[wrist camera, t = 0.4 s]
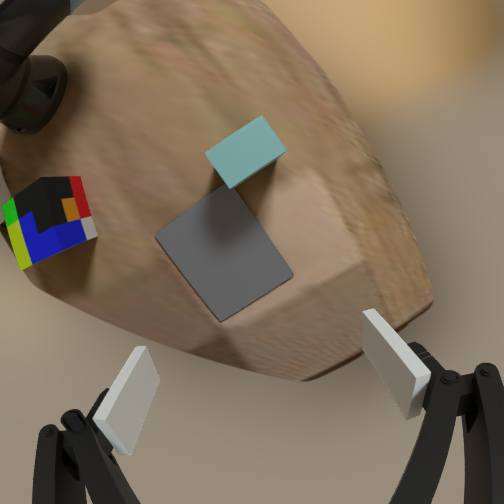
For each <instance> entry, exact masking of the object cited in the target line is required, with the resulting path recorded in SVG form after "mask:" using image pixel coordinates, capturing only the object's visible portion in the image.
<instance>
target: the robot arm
mask: <svg viewBox="0 0 504 504" xmlns="http://www.w3.org/2000/svg"><path fill="white" fill-rule="evenodd" d="M83 1H84V0H0V123H2V124H3V125H4V126H6V127H7V128H8V129H10V130H11V131H12V132H14V133H17V134H24V135H29V134H32V133H35V132H37V131H38V130H40V129H41V128H42V127H43V126H44V125H45V124H46V123H47V122H48V121H49V120H50V119H51V117H52V116H53V114H54V113H55V111H56V110H57V108H58V106H59V104H60V102H61V100H62V97H63V94H64V91H65V87H66V81H67V73H66V68H65V66H64V64H63V63H62V62H61V61H60V60H58V59H57V58H55V57H53V56H49V55H30V54H31V53H32V52H33V51H34V49H35V48H36V47H37V46H38V45H39V44H40V43H41V42H42V41H43V40H44V38H45V37H46V36H47V35H48V34H49V33H50V32H51V31H52V30H53V29H54V28H55V27H56V26H57V25H58V24H59V23H60V22H61V21H62V20H64V19H65V18H66V17H67V16H69V15H71V14H72V13H73V11H74V10H75V9H76V8H77V7H78V6H79V5H80V4H81V3H82V2H83ZM362 350H363V351H364V353H365V354H366V356H367V357H368V359H369V360H370V362H371V364H372V365H373V367H374V369H375V370H376V372H377V373H378V375H379V376H380V378H381V380H382V381H383V382H384V385H385V386H386V388H387V389H388V391H389V393H390V394H391V396H392V398H393V399H394V401H395V402H396V404H397V405H398V407H399V409H400V411H401V412H402V414H403V416H404V417H405V419H406V420H408V419H411V418H413V417H416V416H418V415H420V412H421V409H422V407H423V408H424V409H425V411H426V414H425V417H424V420H423V423H422V426H421V429H420V432H419V435H418V438H417V441H416V444H415V446H414V449H413V451H412V454H411V457H410V459H409V461H408V464H407V466H406V469H405V471H404V473H403V476H402V478H401V480H400V482H399V484H398V486H397V488H396V491H395V492H394V494H393V496H392V498H391V500H390V502H389V504H431V502H432V498H433V497H434V494H435V491H436V489H437V486H438V483H439V480H440V477H441V474H442V471H443V468H444V465H445V461H446V458H447V455H448V450H449V447H450V443H451V439H452V435H453V430H454V426H455V421H456V416H462V425H463V437H464V453H465V454H464V455H465V490H464V491H465V492H464V504H504V386H503V383H502V380H501V377H500V374H499V371H498V369H497V367H496V366H495V365H493V364H490V363H481V364H479V365H478V366H477V367H476V369H475V371H474V373H472V374H467V375H461V376H460V374H459V373H457V372H455V371H452V370H445V369H444V368H443V367H442V366H441V365H440V364H439V363H438V362H437V360H436V359H435V358H434V357H433V356H431V354H430V353H429V352H427V350H426V349H425V348H424V347H423V346H422V345H420V344H418V343H416V342H412V343H409V344H406V343H405V342H404V341H403V340H402V339H401V338H400V336H399V335H398V334H397V333H396V332H395V331H394V330H393V329H392V328H391V327H390V325H389V324H388V323H387V322H386V321H385V320H384V319H383V318H382V317H381V316H380V315H379V314H378V312H377V311H376V310H375V309H370V310H366V311H362ZM159 383H160V378H159V375H158V373H157V371H156V368H155V366H154V364H153V361H152V359H151V356H150V354H149V351H148V349H147V346H138V347H135V349H134V350H133V352H132V354H131V355H130V357H129V358H128V360H127V362H126V363H125V365H124V366H123V368H122V370H121V371H120V373H119V375H118V376H117V378H116V379H115V381H114V383H113V384H112V386H111V388H110V389H109V388H106V389H105V390H104V391H103V392H102V393H101V394H100V395H99V397H98V399H97V401H96V402H95V403H94V406H93V407H92V408H91V410H90V412H89V413H88V415H87V417H86V418H85V417H84V415H83V414H82V413H81V411H80V410H78V409H72V410H69V411H67V412H65V413H64V414H63V415H62V417H61V423H62V424H63V426H64V427H65V428H66V431H59V429H58V428H57V427H56V426H55V425H53V424H49V425H46V426H44V427H43V428H42V429H41V430H40V432H39V438H38V444H37V450H36V458H35V466H34V467H35V468H34V477H33V493H32V504H87V500H86V491H85V486H86V488H87V490H88V493H89V496H90V498H91V501H92V503H93V504H140V502H139V500H138V499H137V497H136V495H135V494H134V492H133V490H132V489H131V487H130V485H129V484H128V482H127V480H126V478H125V477H124V475H123V473H122V471H121V469H120V467H119V465H118V463H117V461H116V459H115V457H114V456H113V454H112V453H111V452H112V449H113V448H114V449H115V450H116V452H117V453H118V454H120V455H128V456H131V455H132V452H133V450H134V447H135V444H136V441H137V439H138V436H139V433H140V431H141V428H142V426H143V423H144V421H145V418H146V415H147V413H148V410H149V408H150V405H151V403H152V400H153V398H154V395H155V393H156V390H157V388H158V385H159Z"/></svg>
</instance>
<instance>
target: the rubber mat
mask: <svg viewBox="0 0 504 504" xmlns="http://www.w3.org/2000/svg"><path fill="white" fill-rule="evenodd" d="M155 237H156V238H157V240H158V241H159V243H160V244H161V245H162V247H163V248H164V249H165V251H166V252H167V254H168V255H169V256H170V258H171V259H172V260H173V262H174V263H175V264H176V266H177V267H178V268H179V270H180V271H181V272H182V274H183V275H184V276H185V277H186V279H187V280H188V281H189V283H190V284H191V285H192V287H193V288H194V289H195V290H196V292H197V293H198V294H199V295H200V297H201V298H202V299H203V301H204V302H205V303H206V304H207V306H208V307H209V308H210V309H211V311H212V312H213V313H214V314H215V315H216V317H217V318H218V319H219V320H220V322H221V321H223V320H224V319H226V318H227V317H229V316H231V315H232V314H234V313H236V312H237V311H239V310H240V309H242V308H244V307H245V306H247V305H248V304H250V303H252V302H253V301H255V300H256V299H258V298H260V297H261V296H263V295H264V294H266V293H267V292H269V291H270V290H272V289H274V288H275V287H277V286H278V285H280V284H281V283H283V282H284V281H286V280H287V279H289V278H291V277H292V276H294V274H293V272H292V271H291V269H290V268H289V266H288V265H287V263H286V262H285V260H284V259H283V257H282V256H281V254H280V253H279V252H278V250H277V249H276V247H275V246H274V244H273V243H272V241H271V240H270V238H269V237H268V235H267V234H266V233H265V231H264V230H263V228H262V227H261V225H260V224H259V222H258V221H257V219H256V218H255V217H254V215H253V214H252V212H251V211H250V209H249V208H248V207H247V205H246V204H245V202H244V201H243V199H242V198H241V197H240V195H239V194H238V192H237V191H236V189H235V188H232V189H229V187H228V186H227V184H226V183H224V184H223V185H222V186H220V187H219V188H217V189H216V190H215V191H213V192H212V193H210V194H209V195H208V196H206V197H205V198H203V199H202V200H201V201H199V202H198V203H197V204H195V205H194V206H193V207H191V208H190V209H188V210H187V211H186V212H184V213H183V214H182V215H181V216H179V217H178V218H177V219H175V220H174V221H173V222H171V223H170V224H169V225H167V226H166V227H165V228H164V229H162V230H161V231H160V232H158V233H157V234H156V235H155Z"/></svg>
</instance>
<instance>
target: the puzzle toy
mask: <svg viewBox="0 0 504 504" xmlns="http://www.w3.org/2000/svg"><path fill="white" fill-rule="evenodd" d="M2 209H3V213H4V217H5V222H6V226H7V229H8V233H9V237H10V240H11V244H12V247H13V250H14V253H15V256H16V259H17V262H18V265H19V268H20V270H23V269H25V268H27V267H29V266H31V265H33V264H36V263H38V262H40V261H42V260H44V259H47V258H49V257H51V256H53V255H56V254H58V253H60V252H62V251H65V250H67V249H69V248H71V247H74V246H76V245H78V244H80V243H83V242H85V241H87V240H90V239H92V238H95V237H97V236H98V235H97V232H96V229H95V226H94V223H93V220H92V217H91V213H90V210H89V207H88V203H87V200H86V196H85V193H84V189H83V185H82V181H81V177H80V176H68V177H41V178H39V179H38V180H36V181H35V182H34V183H32V184H31V185H29V186H28V187H26V188H25V189H24V190H22V191H21V192H20V193H18V194H17V195H16V196H14V197H13V198H12V199H10V200H9V201H8V202H7V203H5V204H4V205H3V206H2Z"/></svg>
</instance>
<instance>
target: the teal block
mask: <svg viewBox="0 0 504 504" xmlns="http://www.w3.org/2000/svg"><path fill="white" fill-rule="evenodd" d="M286 151H287V150H286V148H285V147H284V145H283V144H282V142H281V141H280V140H279V138H278V137H277V135H276V134H275V133H274V131H273V130H272V128H271V127H270V126H269V124H268V123H267V122H266V120H265V119H264V118H263V116H262V115H261V116H260V117H258V118H257V119H255V120H253V121H252V122H250V123H249V124H247V125H246V126H244V127H242V128H241V129H239V130H238V131H236V132H235V133H233V134H232V135H230V136H229V137H227V138H226V139H224V140H223V141H221V142H220V143H218V144H217V145H216V146H214V147H213V148H211V149H210V150H208V151H207V152H206V153H205V155H206V156H207V158H208V159H209V160H210V162H211V163H212V165H213V166H214V167H215V169H216V170H217V172H218V173H219V175H220V176H221V177H222V179H223V180H224V182H225V183H226V184H227V186H228V187H229V189H232V188H235V187H237V186H238V185H239V184H241V183H242V182H244V181H245V180H247V179H248V178H250V177H251V176H253V175H254V174H256V173H257V172H259V171H260V170H262V169H263V168H265V167H266V166H268V165H269V164H271V163H272V162H274V161H275V160H277V159H278V158H279V157H280V156H282V155H283V154H284V153H285V152H286Z"/></svg>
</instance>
